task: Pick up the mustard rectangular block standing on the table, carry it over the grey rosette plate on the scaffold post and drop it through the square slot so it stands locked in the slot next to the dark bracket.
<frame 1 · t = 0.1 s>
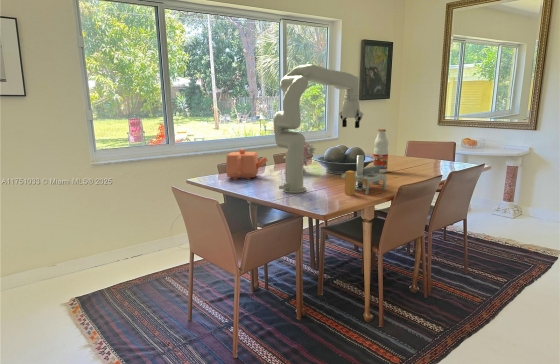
hand: (350, 127, 223), 31 cm above the table, tool pointing down, fingers open, 9 cm apart
teapot: (248, 177, 237), on the table
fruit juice: (379, 171, 249), on the table
bracket: (369, 176, 210), on the table
mustard rectangular block: (349, 194, 193), on the table
rosette post: (359, 188, 206), on the table
flower: (298, 174, 246), on the table
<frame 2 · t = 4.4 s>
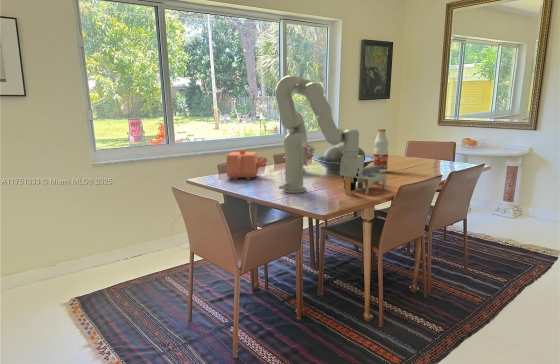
hand: (349, 189, 193), 3 cm above the table, tool pointing down, fingers closed on mustard rectangular block, 3 cm apart
mustard rectangular block: (349, 194, 193), on the table, touching gripper
everything else where it was.
when the fingers open (9 cm above the table, at t = 9.2 s): mustard rectangular block drops 6 cm, on the table.
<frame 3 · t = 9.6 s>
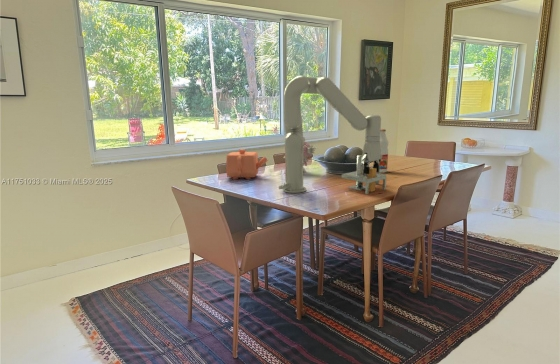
hand: (371, 172, 198), 10 cm above the table, tool pointing down, fingers open, 7 cm apart
mustard rectangular block: (370, 190, 200), on the table
everything else where it was.
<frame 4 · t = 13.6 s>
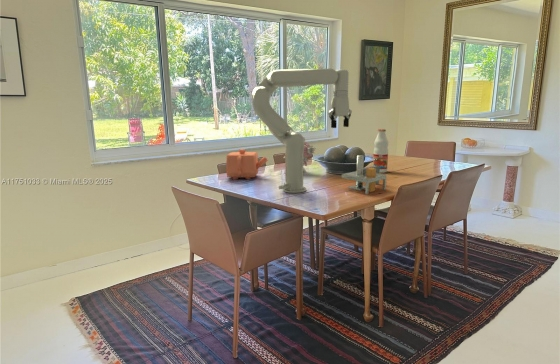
hand: (339, 127, 200), 33 cm above the table, tool pointing down, fingers open, 9 cm apart
nothing on the table moved.
at the end: mustard rectangular block 0.1 cm from the target spot on the rosette post, point 0.0 cm above the rosette post's base; mustard rectangular block tilted 0°; the gripper is holding nothing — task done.
